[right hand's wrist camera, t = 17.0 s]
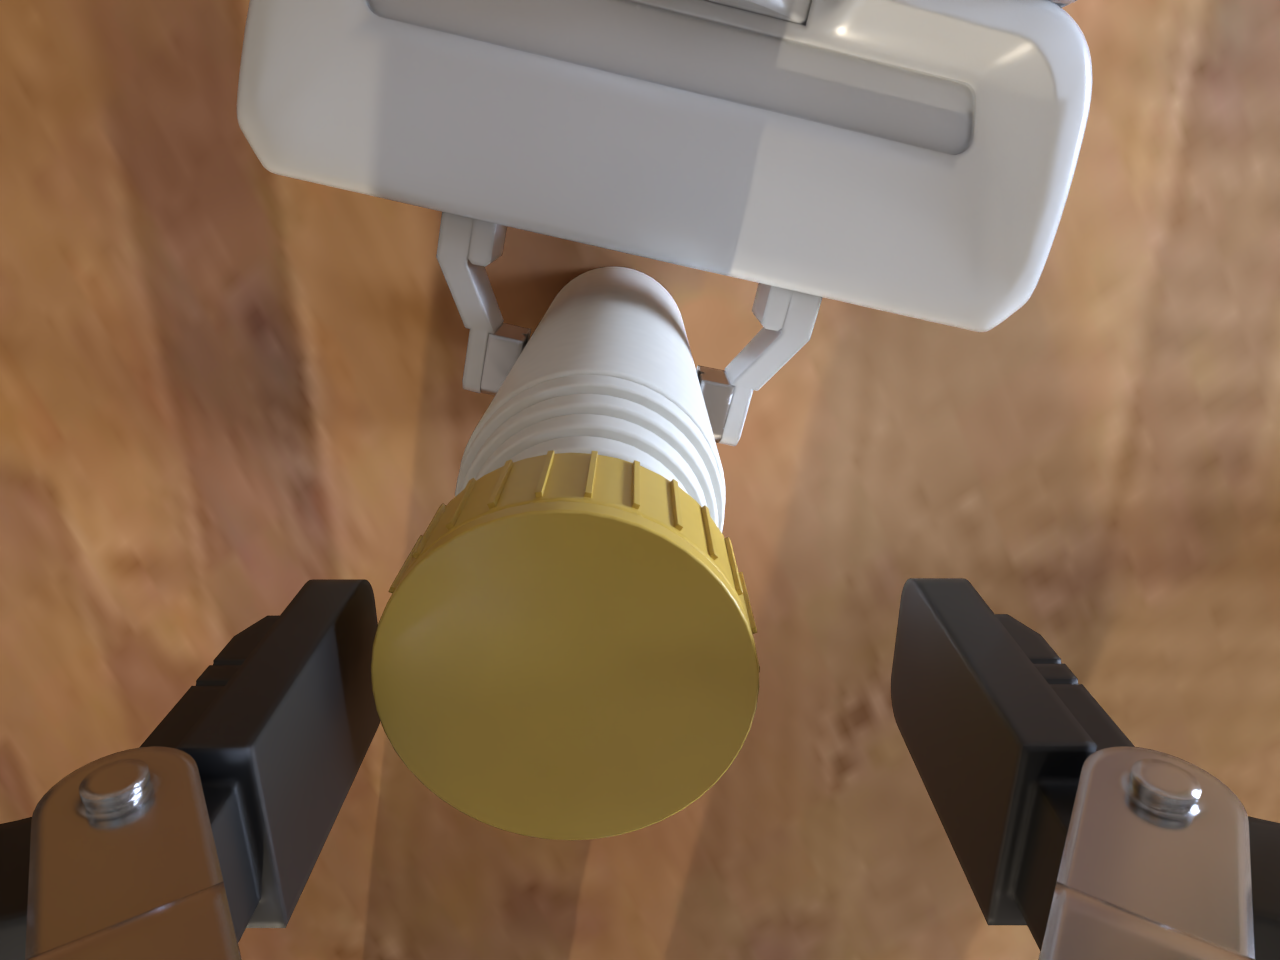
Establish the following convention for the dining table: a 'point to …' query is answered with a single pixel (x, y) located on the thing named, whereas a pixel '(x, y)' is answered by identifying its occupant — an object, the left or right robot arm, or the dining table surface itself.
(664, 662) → the cap
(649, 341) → the bottle
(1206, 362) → the dining table surface
